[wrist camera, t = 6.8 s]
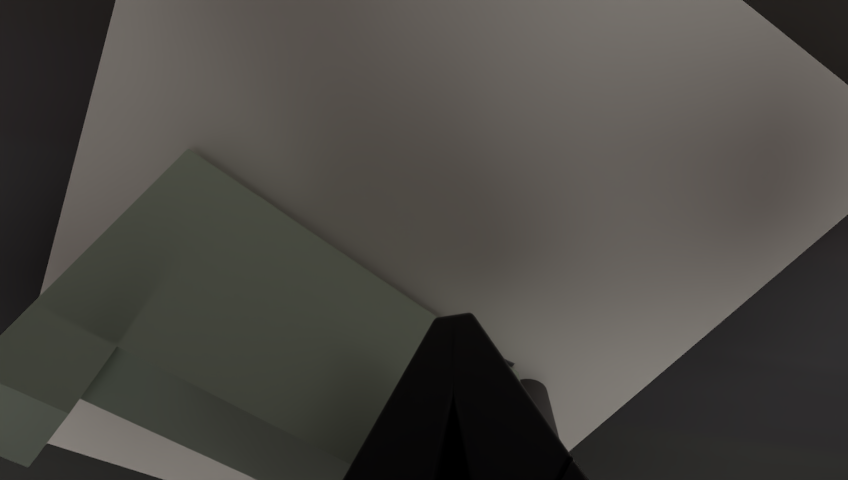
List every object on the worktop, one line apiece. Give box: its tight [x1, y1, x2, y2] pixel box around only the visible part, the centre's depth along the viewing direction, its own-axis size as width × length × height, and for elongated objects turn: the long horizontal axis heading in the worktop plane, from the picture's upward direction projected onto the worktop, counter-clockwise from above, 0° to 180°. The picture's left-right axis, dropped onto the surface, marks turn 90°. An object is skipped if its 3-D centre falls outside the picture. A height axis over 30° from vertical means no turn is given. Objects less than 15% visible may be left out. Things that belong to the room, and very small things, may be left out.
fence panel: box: [0, 149, 520, 480], centre depth 9 cm, size 9×1×6 cm, turn 49°
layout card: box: [40, 0, 848, 480], centre depth 12 cm, size 18×14×1 cm
